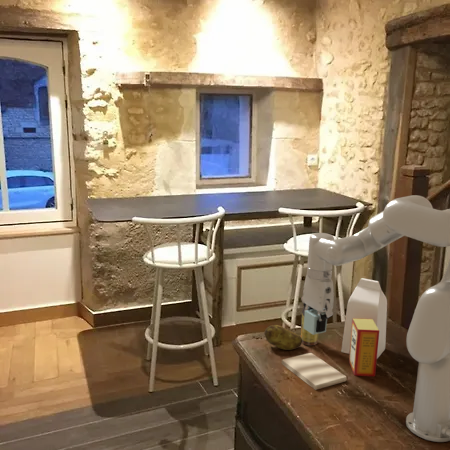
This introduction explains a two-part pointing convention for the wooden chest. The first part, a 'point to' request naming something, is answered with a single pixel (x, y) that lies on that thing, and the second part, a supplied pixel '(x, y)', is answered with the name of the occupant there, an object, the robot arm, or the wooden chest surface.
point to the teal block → (312, 321)
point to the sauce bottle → (307, 334)
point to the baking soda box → (363, 347)
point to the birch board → (313, 371)
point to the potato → (282, 337)
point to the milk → (366, 311)
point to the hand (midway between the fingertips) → (314, 327)
